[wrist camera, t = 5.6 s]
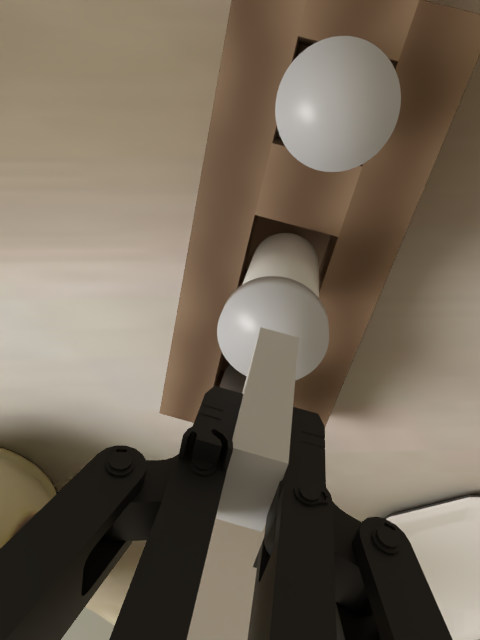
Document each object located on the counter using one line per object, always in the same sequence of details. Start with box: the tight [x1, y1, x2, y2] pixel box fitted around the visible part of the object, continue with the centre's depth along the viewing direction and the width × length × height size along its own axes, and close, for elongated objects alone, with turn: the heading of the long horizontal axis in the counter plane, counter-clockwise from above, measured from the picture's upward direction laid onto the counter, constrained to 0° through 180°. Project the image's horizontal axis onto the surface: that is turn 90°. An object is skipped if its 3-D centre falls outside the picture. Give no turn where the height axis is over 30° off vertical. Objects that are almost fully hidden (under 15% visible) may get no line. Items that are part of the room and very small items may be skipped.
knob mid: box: [217, 233, 329, 380], centre depth 23 cm, size 5×5×9 cm
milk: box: [187, 519, 266, 640], centre depth 36 cm, size 6×6×22 cm
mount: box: [160, 0, 480, 426], centre depth 29 cm, size 12×28×5 cm, turn 167°
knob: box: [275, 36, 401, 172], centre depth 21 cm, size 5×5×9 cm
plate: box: [384, 495, 480, 640], centre depth 43 cm, size 20×20×2 cm
